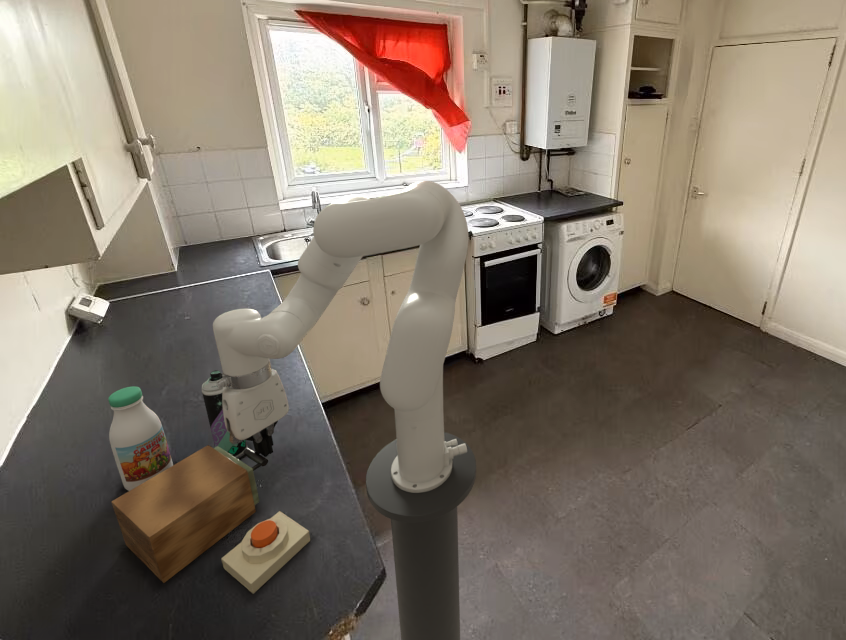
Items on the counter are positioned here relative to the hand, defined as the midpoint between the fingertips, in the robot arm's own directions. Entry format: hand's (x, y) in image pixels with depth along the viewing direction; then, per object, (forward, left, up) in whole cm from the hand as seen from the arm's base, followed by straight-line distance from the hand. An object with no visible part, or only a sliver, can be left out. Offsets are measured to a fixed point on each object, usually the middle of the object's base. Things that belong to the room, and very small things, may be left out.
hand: (265, 452), depth 85 cm
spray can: (+7, -10, -5) cm, 13 cm away
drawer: (+8, +6, -4) cm, 11 cm away
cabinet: (+11, +8, -5) cm, 15 cm away
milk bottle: (+21, -9, -5) cm, 24 cm away
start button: (-1, +19, -2) cm, 19 cm away
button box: (-1, +19, -5) cm, 20 cm away
